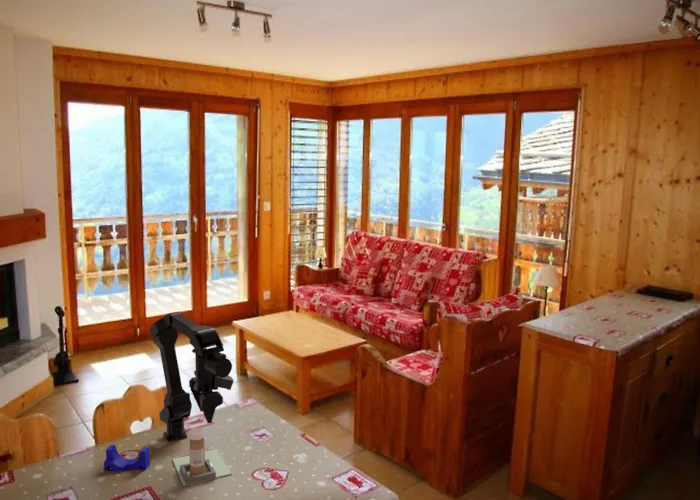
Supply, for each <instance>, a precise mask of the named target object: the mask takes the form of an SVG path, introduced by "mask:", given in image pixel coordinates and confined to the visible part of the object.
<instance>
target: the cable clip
mask: <svg viewBox="0 0 700 500" xmlns="http://www.w3.org/2000/svg"><path fill="white" fill-rule="evenodd" d="M105 456H106V457H105V460H104V461H103V469H104V470H109V471H108V472H122V471H123V472H124V473H125V472H126V470H141V471H146V470H148V468H149V467H150V466H151V461H150V460H151V458H150V457H151V456H150V446H144V447H143V448H142V449H141V450H140V452H139V457H137V458H134V459H129V458H125V457H123V456H122V455H121V454H120V453H119V452H118V450H117V447H116V445H115V444H110V445H109V446H108V447H107V448H106V449H105ZM110 468H111V469H110ZM125 469H126V470H125ZM104 470H103V471H104Z"/></svg>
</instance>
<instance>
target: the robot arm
mask: <svg viewBox="0 0 700 500" xmlns="http://www.w3.org/2000/svg"><path fill="white" fill-rule="evenodd" d="M178 332H179V333H181V334H182V335H184V336H185V337H186V338H188V339H189V344H190V345H191V346H192V347H193V348H192V350H191V352H192V353H194V355H195V357H194V359H195V361H194V363H195V370H193V371H194V372H193V374H194V376H195V377H191V378H190V379H189V380H188V384H189V386H188V387H189V388H190V391H191V394H192V396H193V398H194V401H195V402H196V404H197V406H198V409H199V411H200V412H202V413H203V415H204V419H205V420H206V422H207V424H212V422H213V419H214V415H215V413H216V410H217V407H220V406H221V405H223V404H224V397H223V396H222V394H221V393H220V392H219V391H218V390H219V389H220V388H221V389H226V390H228V391H231V390H232V387H233V385H234V381H235V380H234V378H233V377H232V376H231V375H230V373H231V372H232V370H233V364H232V362H231V360H230V359H228V358H227V354H225V353H222V352H224V351H225V349H224V343H223V342H222V340H221V337H220V335H219V333H218V331H217V330H216V329H215V328H214V327H212V326H209V325H200V324H198V323H197V322H194V321H193V320H191V319H190V318H189V317H187V316H185V315H184V314H183V313H182V312H180V311H174V312H169V313H167V314H165V315H164V316H163V317H162V318H160V319H158V320H157V321H155V322H153V323H152V325H151V326H150V328H149V334H150V336H151V337H152V338H151V339H152V342H153V343H154V344H155V345H156V347H158V350H159V353H160V358H161V363H162V369H163V376H164V381H165V387H166V394H165V396H164V399H163V406H164V407H163V408H162V409H161V411H160V412H159V413H158V414H159V419H160V421H161V422H162V423H165V424H166V425H165V427H166V431H164V432H163V434H164V437H165V439H166V441H167V442H171V441H176V440H180V439H186V438H188V435H187V433H186V431H185V418H190V417H191V412H192V406H193V405H192V402H191V395H190V393H189V392H186V391H185V389H184V388H183V384H182V380H181V373H180V369H179V363H178V357H177V351H176V344H177V341H178V338H179V333H178ZM213 390H214V391H213Z"/></svg>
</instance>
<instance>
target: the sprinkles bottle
mask: <svg viewBox="0 0 700 500" xmlns="http://www.w3.org/2000/svg"><path fill="white" fill-rule="evenodd" d="M205 437H206V430H205V429H204V428H202V427H195V428H192V429H190V430H189V431H188V439H189V441H188V442H189V446H188V447H189V449H188V450H189V455H190V475H191V476H195V475H199V474H203V473H205V472H206V471H205V452H206V451H205V449H206V448H205Z"/></svg>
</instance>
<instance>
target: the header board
mask: <svg viewBox="0 0 700 500" xmlns="http://www.w3.org/2000/svg"><path fill="white" fill-rule="evenodd" d="M172 462H173V466H174V468H175V470H176V473H177V475H178V477H179V479H180V481H181V484H182V486H183V487H186V486H191V485H193V484H197V483H202V482H206V481H210V480H215V479H219V478H220V479H221V478H223V477H228V476H231V475H232V472H231V470H230V468H229V467H228V465H227V463H226V461H225V460H224V458H223V456H222V455H221V453H220V452H219V450H218V449H214V450H213V449H212V450H208V451H205V471H206V472H205V473H203V474H199V475H195V476H191V475H190V454H189V455H184V456H180V457H176V458H172Z"/></svg>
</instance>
